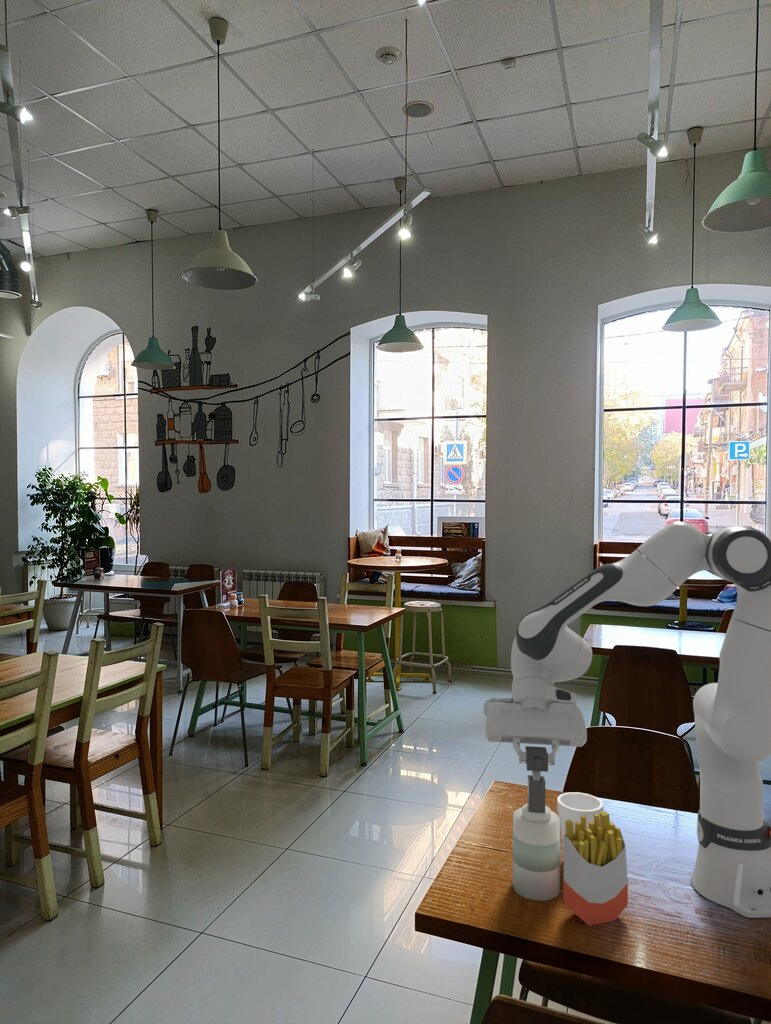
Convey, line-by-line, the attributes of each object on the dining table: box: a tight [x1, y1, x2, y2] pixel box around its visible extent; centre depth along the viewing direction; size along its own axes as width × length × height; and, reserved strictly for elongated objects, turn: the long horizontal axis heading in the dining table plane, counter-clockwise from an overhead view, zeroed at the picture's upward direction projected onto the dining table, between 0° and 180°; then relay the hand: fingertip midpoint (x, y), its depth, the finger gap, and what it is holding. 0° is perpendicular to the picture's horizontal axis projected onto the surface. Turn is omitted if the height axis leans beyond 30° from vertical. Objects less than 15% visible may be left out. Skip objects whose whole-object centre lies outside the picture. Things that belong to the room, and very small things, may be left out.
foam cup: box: [556, 791, 604, 852], centre depth 141 cm, size 10×9×13 cm
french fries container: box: [563, 810, 629, 926], centre depth 122 cm, size 5×11×18 cm, turn 107°
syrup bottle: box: [511, 774, 561, 902], centre depth 131 cm, size 9×9×22 cm
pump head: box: [524, 745, 549, 781], centre depth 130 cm, size 4×9×9 cm, turn 172°
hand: (536, 763), depth 131 cm, fingers closed on pump head, 4 cm apart
